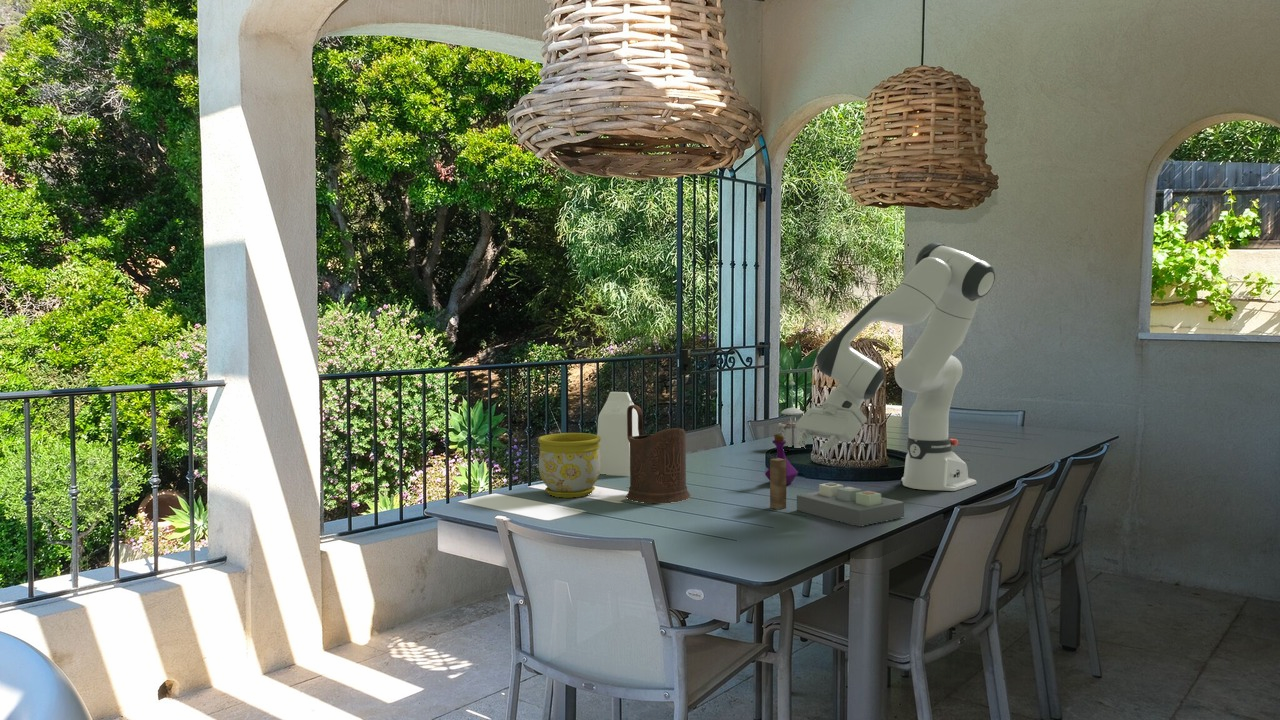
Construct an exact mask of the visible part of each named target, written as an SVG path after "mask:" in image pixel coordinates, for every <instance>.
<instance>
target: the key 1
mask: <svg viewBox="0 0 1280 720" xmlns="http://www.w3.org/2000/svg"><path fill="white" fill-rule="evenodd" d="M838 488H844V485H843V484H840V483H835V482H827V483H821V484H818V491H819V494H820V495H824V496H828V497H835V496H837V489H838Z"/></svg>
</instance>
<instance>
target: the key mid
mask: <svg viewBox="0 0 1280 720" xmlns="http://www.w3.org/2000/svg"><path fill="white" fill-rule="evenodd" d="M858 492H863V491H862V488H857V487H853V486H843V488H838V489H837V499H841V500H845V501H849V502H851V501H856V493H858Z"/></svg>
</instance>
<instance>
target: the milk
mask: <svg viewBox="0 0 1280 720" xmlns="http://www.w3.org/2000/svg"><path fill="white" fill-rule="evenodd" d="M630 405H635V404H634V402H633V400H632V398H631V395H630V393H629V391H627V392H626V391H625V392H624V391H610V392H609V394H608V396H607V400H606V401H605V403H604V405H603V407H602V409H601V410H600V412H599V414H598V418H597V433H596V435H598V436H600V438H601V440H600V442H599V446H600V447H599V453H600V462H601V466H600V473H599V475H600V474H606V475H605V476H613V477H614V476H617V477H629V476H630V443H629V440H628V437H627V408H628V407H629V406H630ZM632 436H639V432H638V414H637V411H636V410H635V409H634V408H633V409H632Z"/></svg>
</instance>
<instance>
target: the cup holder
mask: <svg viewBox="0 0 1280 720" xmlns="http://www.w3.org/2000/svg"><path fill="white" fill-rule="evenodd" d="M633 408H634V409H635V410H636V411H637V414H638V432H639V436H632V409H633ZM686 435H687V434H686V430H685V429H684V428H681V427H677V428H676V427H675V428H668V429H663V430H659V431H658V432H656V433H651V434H645V432H644V414H643V410H642V408H641V407H640V406H638V405H637V404H634V405H630V406H629V407H628V408H627V437H628V440H629V443H630V477H629V484H630V485H629V487H628V489H629V490H628V492H627V494H626V495H625V498H626V497H627V498H628V499H630V500H633V501H638V502H644V503H671V502H678V501H682V500H686V499H688V498H690V496H691V494H690V492H689V491H688V486H687V471H686V470H687V465H686V464H687V461H686V459H687V457H686V456H687V455H686V454H687V453H686V448H687V447H686V439H687V438H686ZM690 499H691V498H690ZM686 501H687V500H686ZM678 503H679V502H678ZM671 504H672V503H671Z"/></svg>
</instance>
